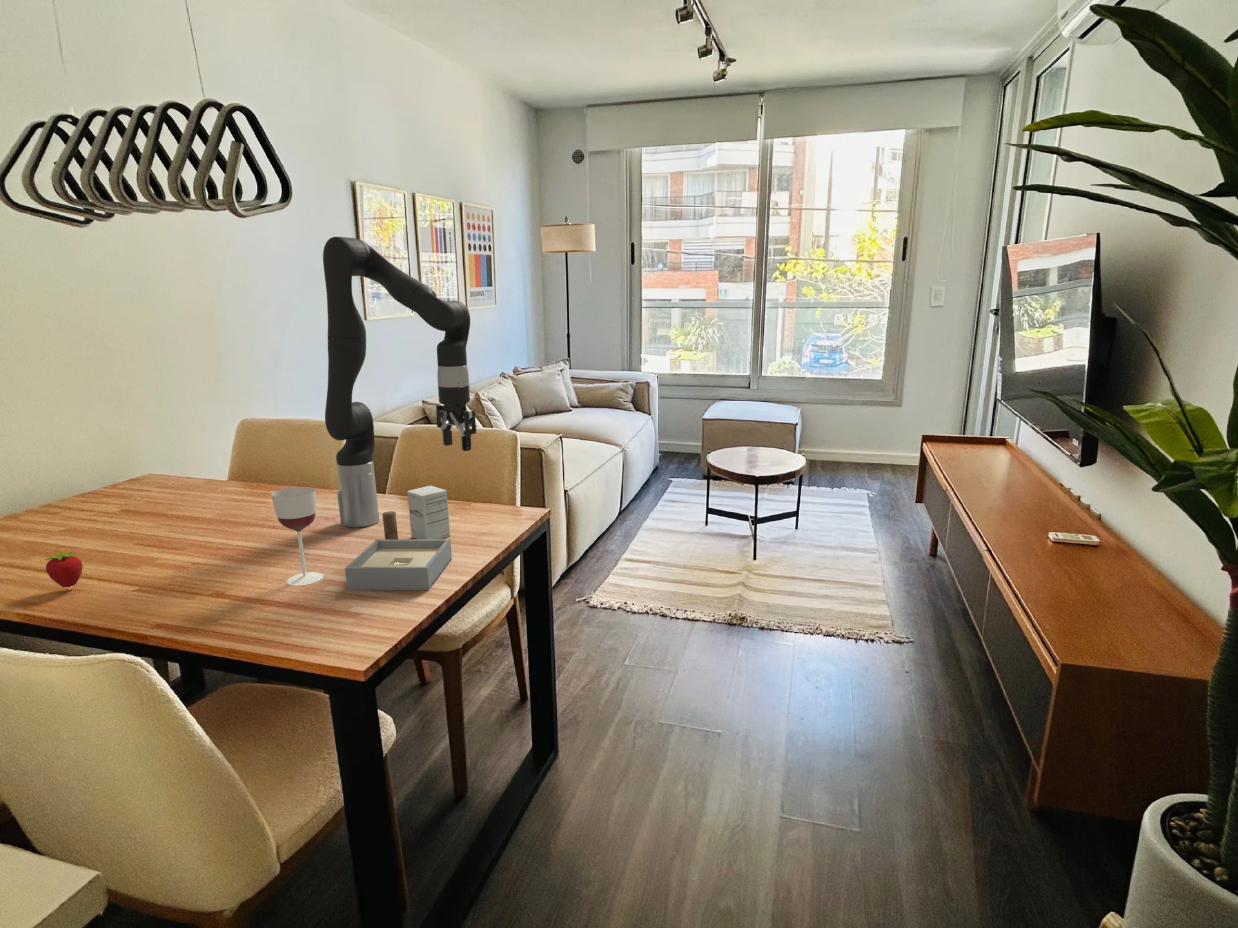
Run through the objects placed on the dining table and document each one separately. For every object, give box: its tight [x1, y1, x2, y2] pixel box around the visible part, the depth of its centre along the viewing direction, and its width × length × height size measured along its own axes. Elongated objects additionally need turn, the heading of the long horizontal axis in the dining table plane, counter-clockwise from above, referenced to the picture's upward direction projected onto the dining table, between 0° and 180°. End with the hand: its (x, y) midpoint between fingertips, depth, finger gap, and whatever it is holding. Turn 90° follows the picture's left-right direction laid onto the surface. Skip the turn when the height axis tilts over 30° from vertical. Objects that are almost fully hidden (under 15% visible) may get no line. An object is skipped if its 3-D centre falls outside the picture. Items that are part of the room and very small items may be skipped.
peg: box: [382, 510, 399, 540], centre depth 167 cm, size 3×3×10 cm
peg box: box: [344, 538, 453, 591], centre depth 154 cm, size 18×18×5 cm
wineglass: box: [271, 486, 324, 587], centre depth 151 cm, size 8×9×20 cm
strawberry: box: [44, 547, 84, 588], centre depth 148 cm, size 6×8×10 cm
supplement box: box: [406, 485, 451, 539], centre depth 177 cm, size 7×7×13 cm
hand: (457, 447), depth 174 cm, fingers open, 8 cm apart
